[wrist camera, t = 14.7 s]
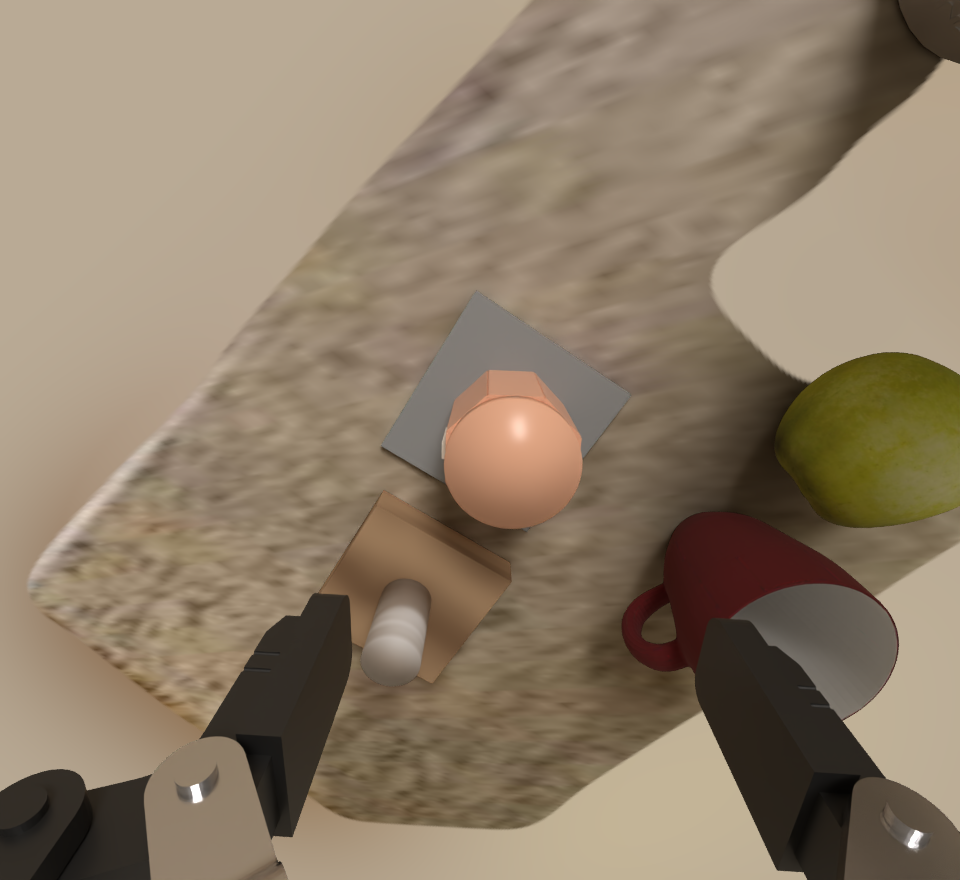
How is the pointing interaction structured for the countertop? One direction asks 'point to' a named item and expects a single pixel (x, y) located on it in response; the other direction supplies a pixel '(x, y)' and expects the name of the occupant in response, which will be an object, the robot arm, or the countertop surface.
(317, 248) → the countertop surface
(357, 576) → the post block
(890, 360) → the apple
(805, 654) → the mug
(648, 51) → the countertop surface
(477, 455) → the cap
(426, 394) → the mat
